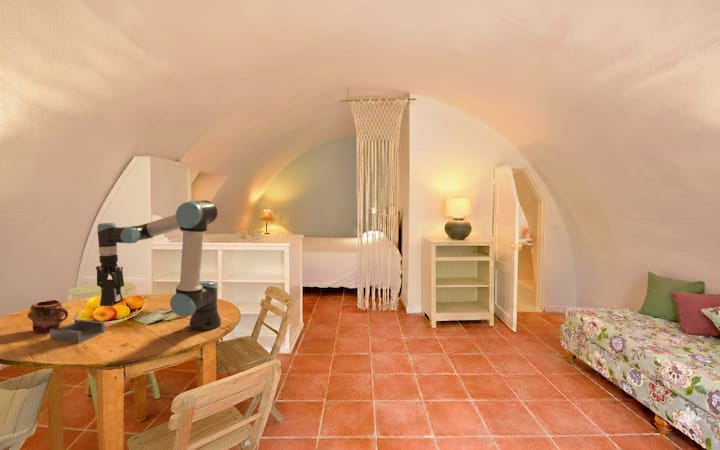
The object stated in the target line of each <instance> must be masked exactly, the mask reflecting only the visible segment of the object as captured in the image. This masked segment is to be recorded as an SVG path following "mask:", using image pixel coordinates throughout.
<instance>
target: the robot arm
mask: <svg viewBox="0 0 720 450" xmlns="http://www.w3.org/2000/svg"><path fill="white" fill-rule="evenodd" d="M218 214H219V212H218V207H217V206H216V204H214V202H212V201H210V200H205V199H204V200H190V201H186V202H183V203H181V204H180V205H179V206H178V207H177V209H176V211H175V214H172V215H169V216H165V217H163V218H160V219H156V220H153V221H150V222H148V223H144V224H141V225H134V226H133V225H132V226H123V227H117V226H116V223H115V222H103V223H102V222H101V223H98V224H97V232H96V233H97V238H98V255H99V264H100V265H97V266H95V270H96V286H97V287H100V291H101V292H100V293H101V294H102V288H103V284H102V282H103V280H105V279H109V275H110V276H111V279H112V280H113V283H114V285H115V288H114V295H115V302H117V301H120V294H121V295H122V290H121V289H122V287H124V286H125V282H124V281H125V280H124V273H123V269H124V267H123V266H120V265H118V264H117V263H118V261H119V259H118V258H119V256H118V254H117V253H118V245H117V244H128V245H129V244H135V243H137V242H138V241H142V240H143V241H144V240H150V239H153V238H155V237H157V236H160V235H165V234H167V233H170V232H174V231H177V230H180V232H182V244H181V245H182V248H181V262H180V276H179V277H180V278H179V283H178V284H177V285H176V286H175V294H173V295H172V297H171V298H170V301H169V305H170V308H171V311H172V312H173V313H174V314H175V315H176V316H178V317H180V318H182V317H183V318H186V317H189V316H190V320H189V326H188V327H189V329H191V330H193V331H201V332H203V331H209V330H213V329H217V328H219V327H220V326H221V324H222V318H221V316H220V314H219V312H218V311H219V310H218V292H217V291H218V287H217V283H216V282H215V281H213V280H212V281H210V280H201V270H202V269H201V268H202V267H201V266H202V256H203V255H202V254H203V253H202V252H203V240H204V234H205V233H207V232H208V225H209V224H212V223H213V222H215V220H216V219H217V218H218Z"/></svg>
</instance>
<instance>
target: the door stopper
mask: <svg viewBox="0 0 720 450" xmlns="http://www.w3.org/2000/svg"><path fill="white" fill-rule="evenodd" d="M102 284H103V288H102V293H101V295H100V300H99V306H100V307H113V306H115V305H118V304H119V303H122V302H124V299H123V296H122V293H121V294H120V301H117V302H115V295H114V288H115V285H114V283H113V280H112V278H110V279H109V278H108V279H105V280H103V282H102Z"/></svg>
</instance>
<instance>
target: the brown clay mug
mask: <svg viewBox="0 0 720 450" xmlns="http://www.w3.org/2000/svg"><path fill="white" fill-rule="evenodd" d="M68 316H69V311H68V310H67V309H66V308H65V307H63V305H62V303H61V301H59V300H56V299H52V300H45V301H38V302H35V303H32V305H30V309H29V310H28V314H27V318H28V319H29V320H31V321H32V330H33V332H34V333H35V334H39V335H40V334H41V335H43V334H50V329H52V328H56V329H57V328H60V327H61V326H60V325H61V323H63V322H64V321H65V320H66V319H67V318H68Z"/></svg>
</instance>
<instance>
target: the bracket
mask: <svg viewBox="0 0 720 450" xmlns="http://www.w3.org/2000/svg"><path fill="white" fill-rule="evenodd" d="M105 332H106V330H105V322H104V321H96V320H87V319H80V318H79V319H74V320H73V322H72V323H71V322H70V323H68V324H65V325H64V326H60V327H59V328H57V329H56V328H52V329H50V333H49V340H51V341H58V342H64V343H65V342H66V343H73V344H80V343H83V342H85V341H87V340H90V339H93V338H95V337H96V336H99V335H102V334H104V333H105Z"/></svg>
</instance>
